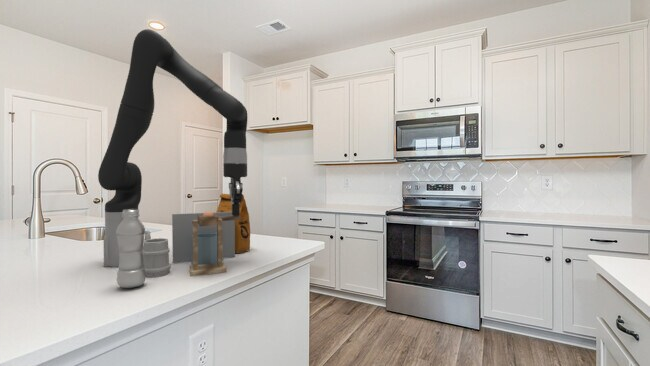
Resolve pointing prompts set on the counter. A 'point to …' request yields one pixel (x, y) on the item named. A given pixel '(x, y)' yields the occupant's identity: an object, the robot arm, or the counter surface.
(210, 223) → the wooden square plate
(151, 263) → the mug
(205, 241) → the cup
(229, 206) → the coffee package
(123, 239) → the plastic bottle
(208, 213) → the ball
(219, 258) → the stand
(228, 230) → the backboard
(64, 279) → the counter surface
